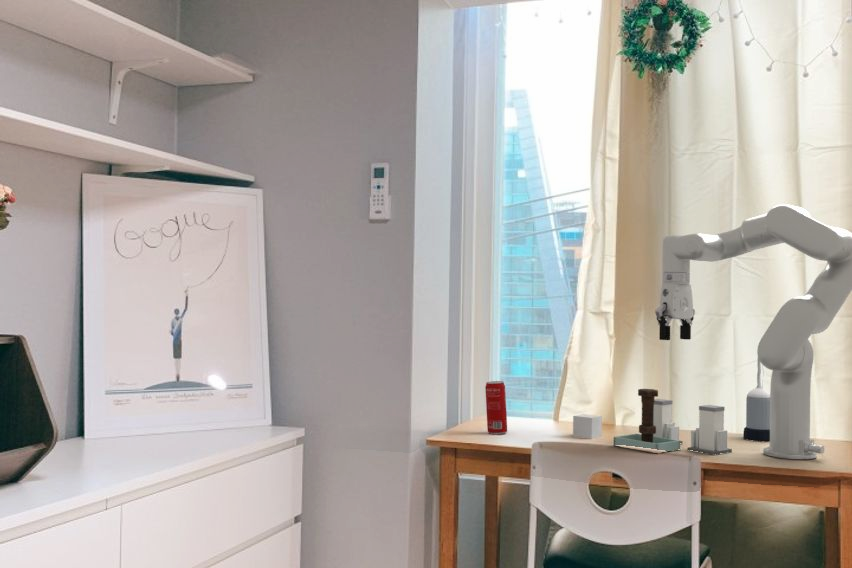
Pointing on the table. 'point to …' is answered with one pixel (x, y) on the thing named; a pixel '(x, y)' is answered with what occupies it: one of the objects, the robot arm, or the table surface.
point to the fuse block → (703, 438)
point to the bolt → (647, 414)
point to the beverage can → (496, 407)
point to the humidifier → (758, 412)
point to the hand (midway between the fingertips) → (675, 339)
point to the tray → (637, 442)
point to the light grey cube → (587, 426)
